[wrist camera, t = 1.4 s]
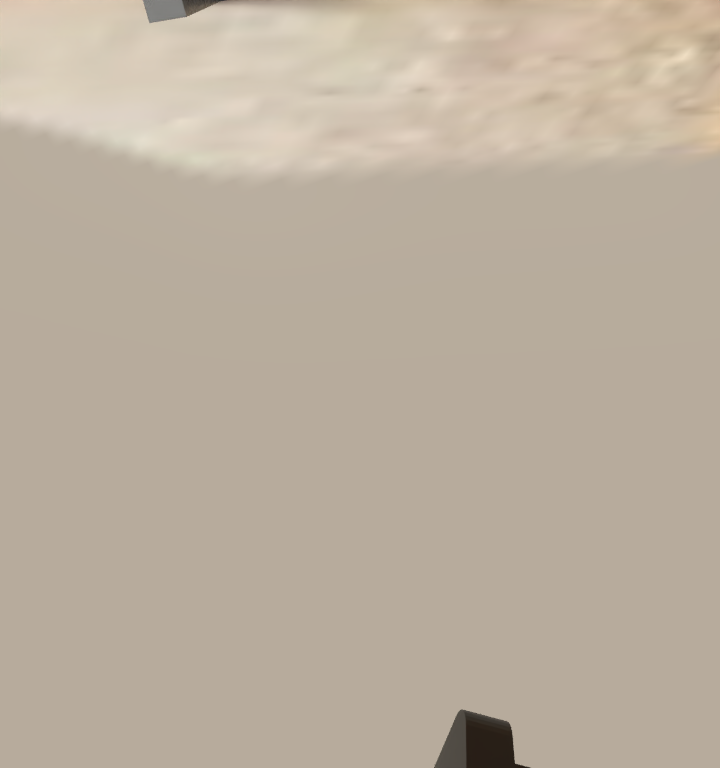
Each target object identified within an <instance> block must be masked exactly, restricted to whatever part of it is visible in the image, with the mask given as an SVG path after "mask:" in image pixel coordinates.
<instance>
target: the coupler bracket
mask: <svg viewBox="0 0 720 768" xmlns="http://www.w3.org/2000/svg"><path fill="white" fill-rule="evenodd" d="M220 1H225V0H143V2H144V6H145V9H146V13H147V16H148V19H149V23H152V22H158V21H164V20H170V19H176V18H182V17H187V16H189V15H191V14H194V13H196V12H198V11H200V10H202V9H205V8H207V7H209V6H211V5H213V4H216V3H218V2H220Z"/></svg>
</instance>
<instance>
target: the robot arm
mask: <svg viewBox="0 0 720 768" xmlns="http://www.w3.org/2000/svg"><path fill="white" fill-rule="evenodd" d="M434 768H529V767H525V766H522V765H518V764H515V761H514V750H513V737H512V730H511V726H510V724H509V722H507V721H504V720H499V719H496V718H491V717H488V716H485V715H481V714H477V713H473V712H470V711H466V710H460V711H459V712H458V714H457V716H456V718H455V720H454V723H453V725H452V727H451V730H450V732H449V735H448V737H447V739H446V741H445V744H444V746H443V748H442V751H441V753H440V755H439V758H438V760H437V762H436V765H435V767H434Z"/></svg>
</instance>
